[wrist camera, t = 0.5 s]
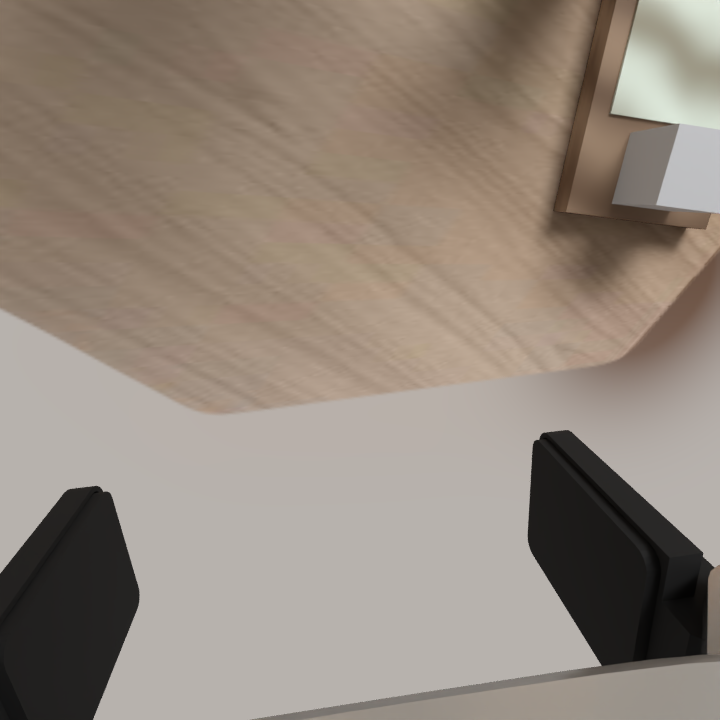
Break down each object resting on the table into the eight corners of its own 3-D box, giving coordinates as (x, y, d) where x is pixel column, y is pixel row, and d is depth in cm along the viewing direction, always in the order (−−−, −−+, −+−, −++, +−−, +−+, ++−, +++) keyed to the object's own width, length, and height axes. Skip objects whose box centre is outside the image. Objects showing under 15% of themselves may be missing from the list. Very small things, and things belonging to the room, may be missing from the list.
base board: (608, -27, 34) (627, -41, 32) (758, 3, 36) (785, -8, 33) (553, 210, 39) (567, 211, 37) (687, 227, 40) (707, 229, 38)
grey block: (630, 132, 36) (680, 123, 31) (691, 142, 36) (748, 134, 32) (611, 203, 37) (656, 205, 32) (670, 211, 38) (722, 213, 33)
